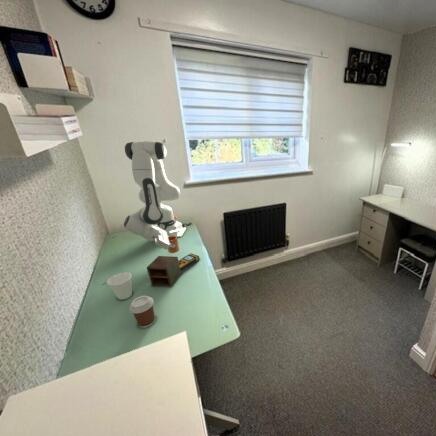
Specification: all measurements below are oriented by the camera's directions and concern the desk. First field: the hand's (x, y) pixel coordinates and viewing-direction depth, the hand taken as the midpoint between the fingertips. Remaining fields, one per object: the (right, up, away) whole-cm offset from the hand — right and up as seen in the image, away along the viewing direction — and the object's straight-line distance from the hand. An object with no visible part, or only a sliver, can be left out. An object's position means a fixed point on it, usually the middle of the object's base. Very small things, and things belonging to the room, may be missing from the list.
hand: (173, 243), depth 152 cm
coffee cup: (+11, -30, -46) cm, 56 cm away
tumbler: (-1, -5, +2) cm, 5 cm away
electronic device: (+10, -13, -6) cm, 17 cm away
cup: (-9, -24, -31) cm, 40 cm away
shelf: (+6, -18, -19) cm, 27 cm away
